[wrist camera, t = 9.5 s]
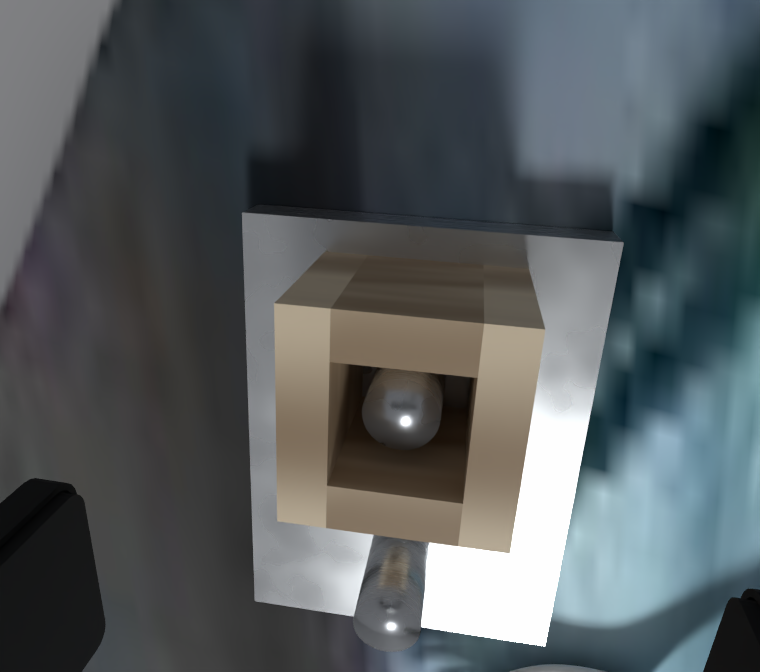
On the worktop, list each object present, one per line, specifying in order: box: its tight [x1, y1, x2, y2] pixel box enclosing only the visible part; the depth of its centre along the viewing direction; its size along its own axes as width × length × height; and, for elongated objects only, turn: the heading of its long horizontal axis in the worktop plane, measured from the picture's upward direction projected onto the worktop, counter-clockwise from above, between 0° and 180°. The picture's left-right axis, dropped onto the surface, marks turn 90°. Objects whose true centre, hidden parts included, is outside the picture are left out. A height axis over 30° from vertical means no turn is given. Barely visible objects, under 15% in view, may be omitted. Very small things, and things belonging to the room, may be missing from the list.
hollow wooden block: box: [274, 251, 545, 554], centre depth 17 cm, size 6×6×5 cm
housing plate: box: [242, 204, 624, 652], centre depth 20 cm, size 15×11×6 cm
